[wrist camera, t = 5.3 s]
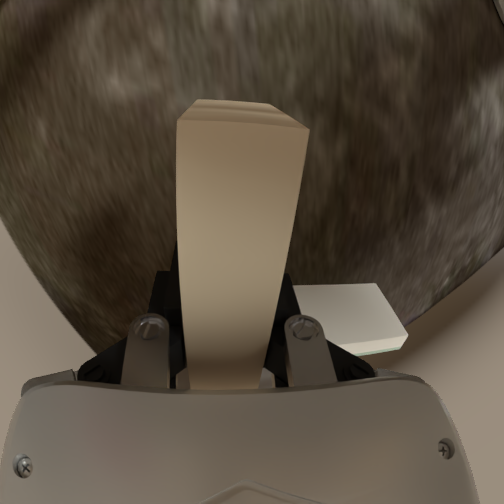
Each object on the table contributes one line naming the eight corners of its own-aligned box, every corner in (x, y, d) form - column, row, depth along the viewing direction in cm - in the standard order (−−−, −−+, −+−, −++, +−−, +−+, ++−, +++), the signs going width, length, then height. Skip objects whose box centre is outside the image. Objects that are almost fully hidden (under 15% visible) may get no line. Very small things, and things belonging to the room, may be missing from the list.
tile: (375, 282, 31) (408, 335, 24) (369, 296, 32) (399, 348, 25) (270, 285, 29) (287, 349, 22) (267, 300, 30) (283, 363, 23)
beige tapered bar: (121, 101, 9) (50, 129, 5) (341, 114, 10) (420, 151, 6) (155, 365, 17) (148, 437, 13) (280, 366, 18) (294, 435, 14)
